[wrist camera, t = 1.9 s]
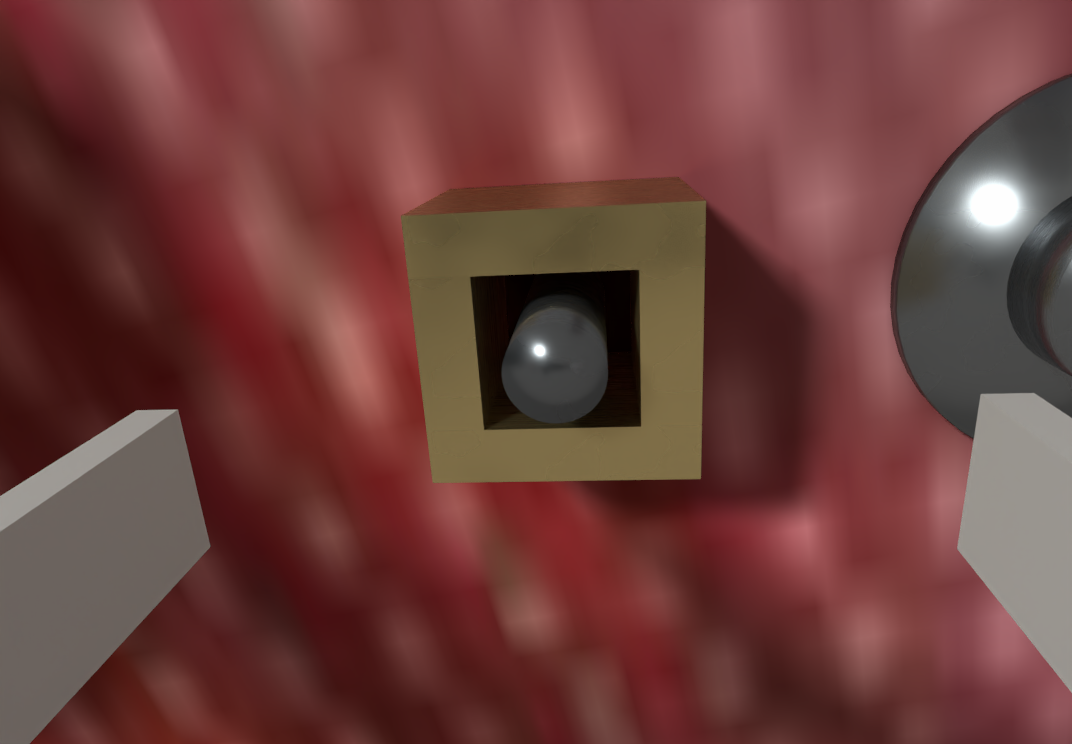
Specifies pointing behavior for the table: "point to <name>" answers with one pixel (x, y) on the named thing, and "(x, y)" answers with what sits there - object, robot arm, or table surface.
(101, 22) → the table surface
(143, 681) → the table surface
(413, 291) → the collar
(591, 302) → the stand rod
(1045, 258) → the hub
